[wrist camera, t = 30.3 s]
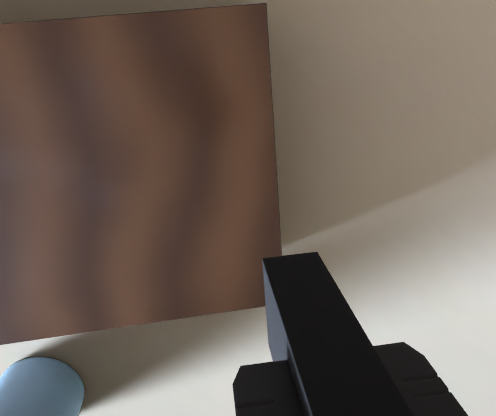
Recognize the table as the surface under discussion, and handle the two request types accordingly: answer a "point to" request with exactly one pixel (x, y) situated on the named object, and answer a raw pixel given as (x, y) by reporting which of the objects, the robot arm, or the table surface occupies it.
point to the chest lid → (134, 169)
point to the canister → (40, 389)
